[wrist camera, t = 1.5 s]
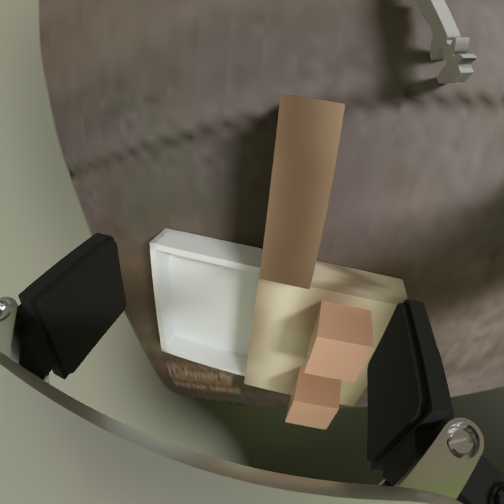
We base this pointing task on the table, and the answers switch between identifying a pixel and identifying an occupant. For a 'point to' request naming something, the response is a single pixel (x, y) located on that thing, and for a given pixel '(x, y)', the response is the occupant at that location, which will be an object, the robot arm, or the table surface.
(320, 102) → the brown tapered block
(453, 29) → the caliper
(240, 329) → the tray
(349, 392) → the beige flat block
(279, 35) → the table surface
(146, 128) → the table surface
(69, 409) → the robot arm
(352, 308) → the pink cube
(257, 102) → the table surface
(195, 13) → the table surface
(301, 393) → the tan wooden cube
